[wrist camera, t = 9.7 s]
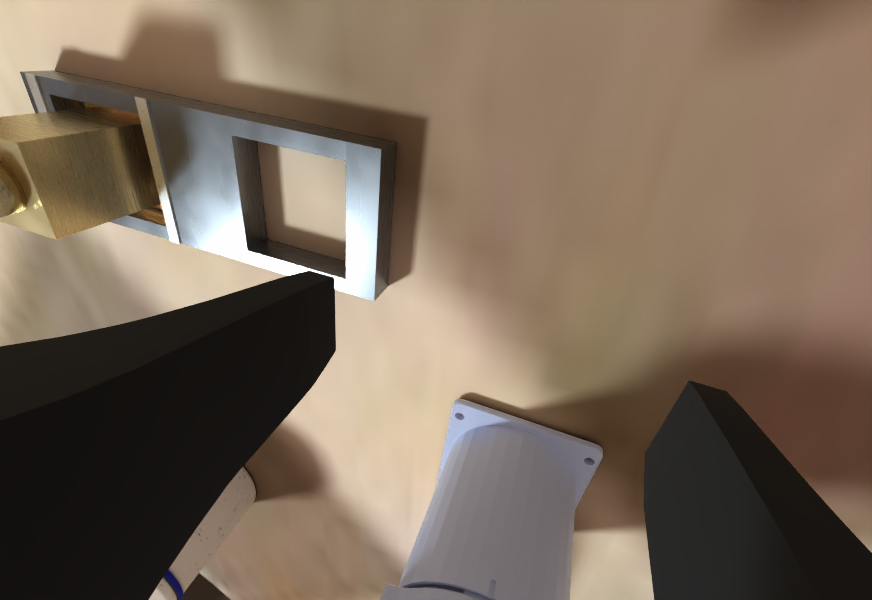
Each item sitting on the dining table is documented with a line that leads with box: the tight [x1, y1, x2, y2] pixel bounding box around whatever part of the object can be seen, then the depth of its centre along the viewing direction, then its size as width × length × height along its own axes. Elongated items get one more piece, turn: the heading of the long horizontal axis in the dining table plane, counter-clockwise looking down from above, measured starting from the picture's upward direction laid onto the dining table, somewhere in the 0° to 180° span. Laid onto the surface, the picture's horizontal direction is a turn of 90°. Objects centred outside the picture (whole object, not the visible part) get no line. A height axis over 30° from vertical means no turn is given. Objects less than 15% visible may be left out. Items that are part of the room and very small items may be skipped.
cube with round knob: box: [0, 107, 161, 240], centre depth 19 cm, size 4×4×7 cm
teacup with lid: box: [149, 467, 256, 600], centre depth 33 cm, size 12×9×12 cm
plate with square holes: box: [20, 71, 397, 301], centre depth 21 cm, size 7×19×2 cm, turn 83°
